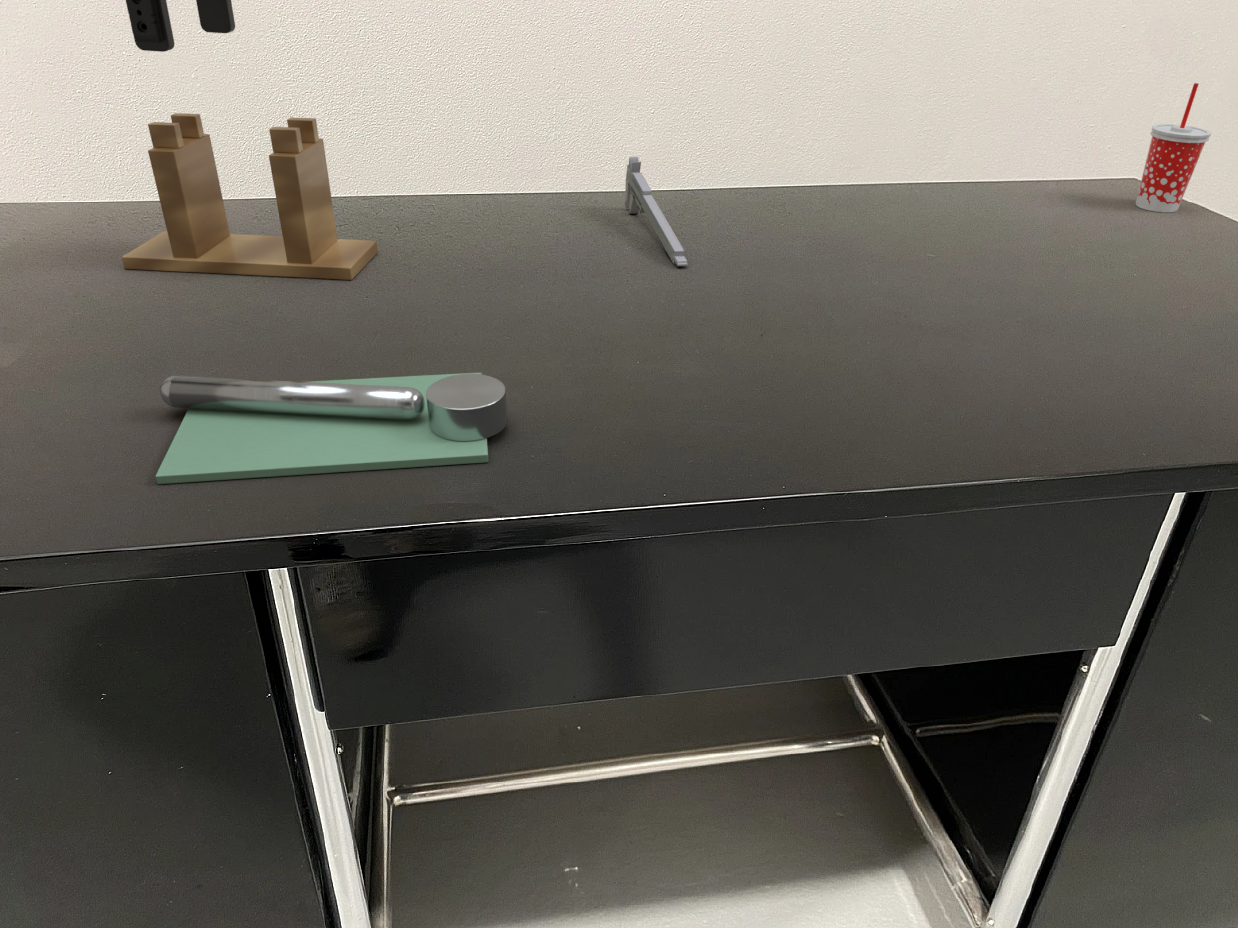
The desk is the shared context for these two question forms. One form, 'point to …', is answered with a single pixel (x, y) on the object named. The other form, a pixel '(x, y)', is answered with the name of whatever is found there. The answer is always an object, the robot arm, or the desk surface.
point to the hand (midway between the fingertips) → (189, 41)
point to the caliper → (650, 211)
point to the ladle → (355, 401)
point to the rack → (202, 220)
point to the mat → (309, 442)
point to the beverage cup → (1170, 163)
